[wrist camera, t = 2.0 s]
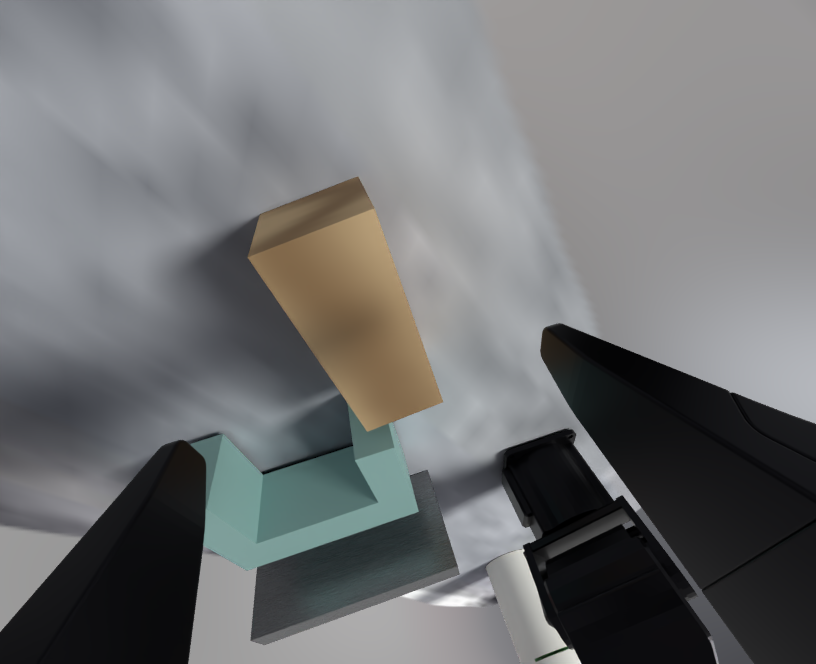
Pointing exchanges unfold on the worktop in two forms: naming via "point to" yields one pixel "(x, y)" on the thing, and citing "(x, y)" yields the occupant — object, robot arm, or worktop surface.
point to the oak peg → (347, 300)
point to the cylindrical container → (526, 612)
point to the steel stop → (354, 571)
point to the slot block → (302, 496)
